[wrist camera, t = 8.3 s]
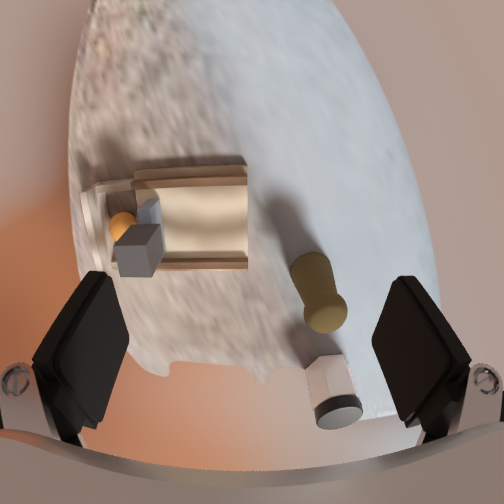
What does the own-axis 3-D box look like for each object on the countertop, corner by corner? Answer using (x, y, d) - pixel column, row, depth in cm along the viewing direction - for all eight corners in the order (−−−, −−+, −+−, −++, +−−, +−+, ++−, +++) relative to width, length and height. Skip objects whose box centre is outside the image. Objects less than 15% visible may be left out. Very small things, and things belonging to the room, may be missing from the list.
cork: (302, 246, 39) (319, 294, 29) (338, 260, 40) (364, 308, 31) (283, 281, 42) (293, 334, 32) (318, 293, 43) (336, 345, 33)
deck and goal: (96, 174, 34) (78, 184, 29) (247, 164, 34) (247, 173, 29) (114, 266, 40) (101, 284, 36) (247, 266, 40) (248, 286, 36)
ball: (124, 219, 32) (141, 208, 36) (100, 218, 33) (117, 207, 36) (130, 249, 34) (145, 236, 37) (106, 246, 35) (122, 234, 38)
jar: (327, 384, 54) (339, 433, 44) (296, 375, 52) (305, 427, 41) (357, 359, 51) (374, 408, 40) (326, 347, 49) (341, 401, 38)
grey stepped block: (140, 199, 34) (109, 230, 26) (167, 198, 34) (143, 228, 26) (147, 249, 37) (124, 290, 29) (173, 249, 37) (154, 291, 29)
